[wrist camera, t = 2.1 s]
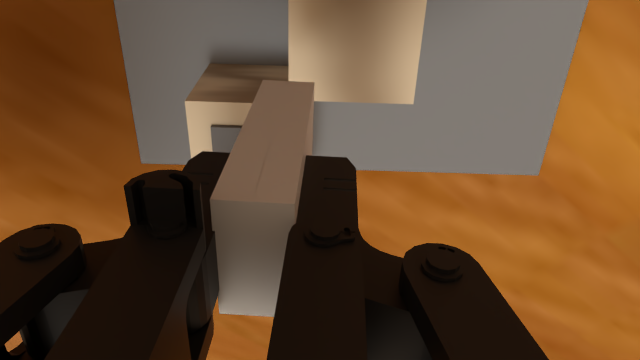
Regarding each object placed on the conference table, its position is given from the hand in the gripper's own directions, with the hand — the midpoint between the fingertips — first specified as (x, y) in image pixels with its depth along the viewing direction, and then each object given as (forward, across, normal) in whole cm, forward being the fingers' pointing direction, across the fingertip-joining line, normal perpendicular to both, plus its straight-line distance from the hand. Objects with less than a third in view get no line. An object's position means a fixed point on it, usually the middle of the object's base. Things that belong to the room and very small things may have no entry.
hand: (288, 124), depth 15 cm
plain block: (+15, +2, 0) cm, 15 cm away
